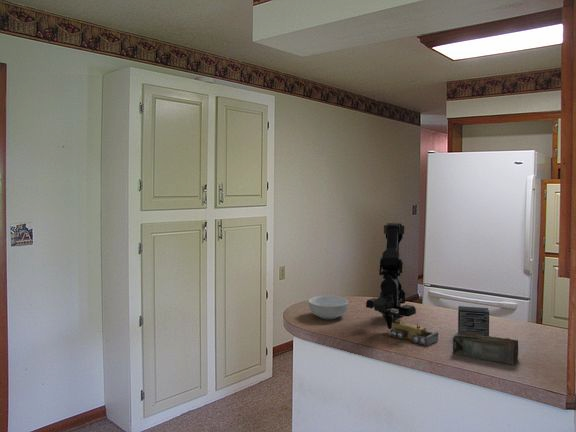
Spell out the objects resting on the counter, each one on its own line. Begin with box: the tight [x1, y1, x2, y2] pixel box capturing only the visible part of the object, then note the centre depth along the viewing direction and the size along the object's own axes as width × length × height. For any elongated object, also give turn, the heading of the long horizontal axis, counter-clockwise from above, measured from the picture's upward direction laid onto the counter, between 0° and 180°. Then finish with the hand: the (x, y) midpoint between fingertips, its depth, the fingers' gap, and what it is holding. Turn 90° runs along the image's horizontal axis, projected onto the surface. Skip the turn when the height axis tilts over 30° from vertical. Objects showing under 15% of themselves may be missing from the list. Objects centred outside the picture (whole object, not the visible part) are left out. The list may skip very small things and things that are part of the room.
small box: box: [457, 305, 490, 336], centre depth 172 cm, size 11×6×10 cm, turn 71°
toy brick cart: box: [390, 329, 439, 347], centre depth 170 cm, size 9×15×3 cm, turn 45°
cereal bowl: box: [308, 295, 349, 320], centre depth 198 cm, size 17×17×7 cm
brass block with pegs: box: [392, 319, 427, 341], centre depth 172 cm, size 4×12×5 cm, turn 45°
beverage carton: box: [452, 331, 519, 366], centre depth 153 cm, size 8×19×7 cm, turn 57°
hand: (389, 329), depth 177 cm, fingers closed
